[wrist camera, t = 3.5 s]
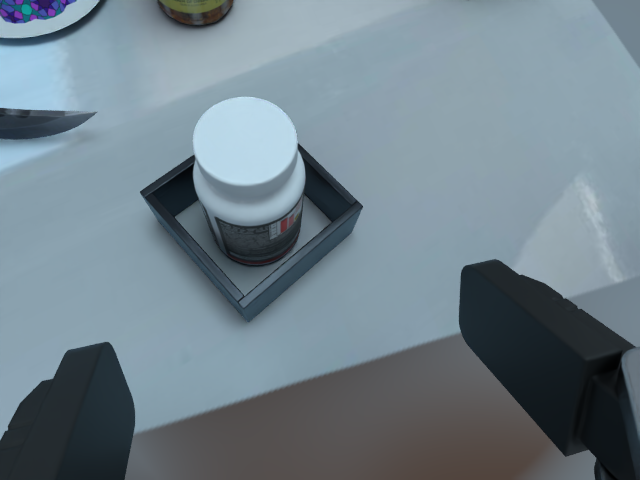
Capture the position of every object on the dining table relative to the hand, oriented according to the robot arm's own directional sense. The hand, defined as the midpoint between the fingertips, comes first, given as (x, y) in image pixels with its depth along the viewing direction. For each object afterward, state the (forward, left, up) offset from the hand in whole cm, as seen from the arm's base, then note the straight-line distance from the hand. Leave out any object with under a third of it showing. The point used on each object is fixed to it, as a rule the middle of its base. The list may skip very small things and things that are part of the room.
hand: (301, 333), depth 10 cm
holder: (+8, -5, -16) cm, 19 cm away
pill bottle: (+8, -5, -17) cm, 19 cm away
